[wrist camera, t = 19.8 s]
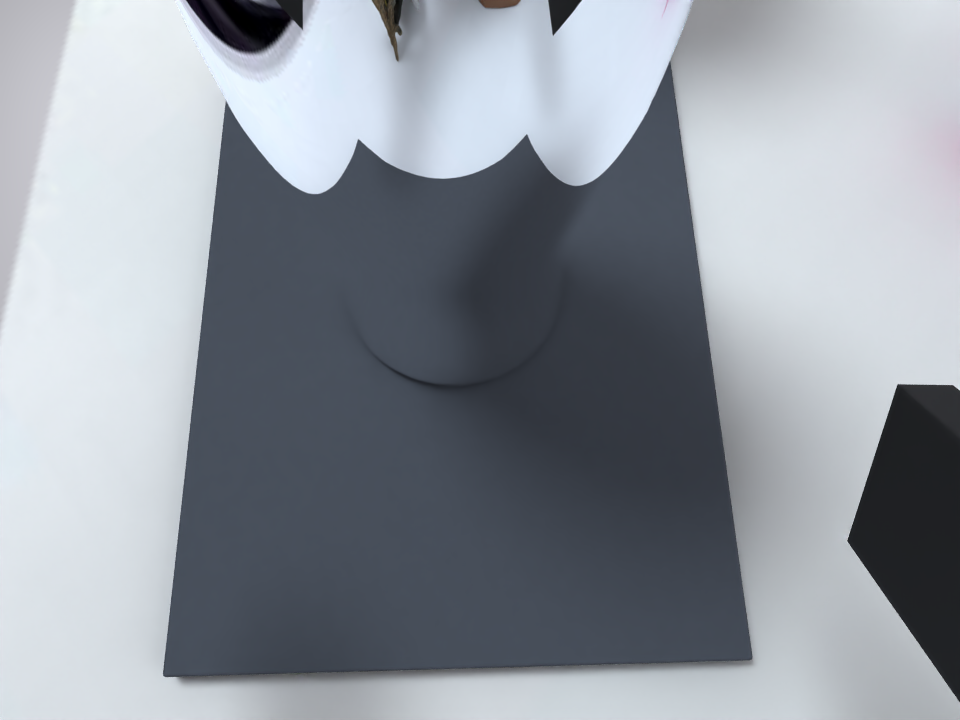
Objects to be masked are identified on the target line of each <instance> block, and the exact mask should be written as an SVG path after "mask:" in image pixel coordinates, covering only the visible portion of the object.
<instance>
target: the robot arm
mask: <svg viewBox="0 0 960 720" xmlns="http://www.w3.org/2000/svg"><path fill="white" fill-rule="evenodd" d="M847 541H848V543H849V544H850V546H851V547H852V549H853V550H854V551H855V553H856V554H857V556H858V557H859V559H860V560H861V561H862V563H863V564H864V566H865V567H866V569H867V570H868V571H869V573H870V574H871V576H872V577H873V579H874V580H875V582H876V583H877V584H878V586H879V587H880V589H881V590H882V592H883V593H884V594H885V596H886V597H887V599H888V600H889V602H890V603H891V604H892V606H893V607H894V609H895V610H896V612H897V613H898V614H899V616H900V617H901V619H902V620H903V622H904V623H905V624H906V626H907V627H908V629H909V630H910V632H911V633H912V634H913V636H914V637H915V639H916V640H917V642H918V643H919V644H920V646H921V647H922V649H923V650H924V652H925V653H926V654H927V656H928V657H929V659H930V660H931V662H932V663H933V665H934V666H935V667H936V669H937V670H938V672H939V673H940V675H941V676H942V677H943V679H944V680H945V682H946V683H947V685H948V686H949V687H950V689H951V690H952V692H953V693H954V695H955V696H956V697H957V699H958V700H959V702H960V390H958V389H957V388H956V387H954V386H953V385H902V384H898V385H897V388H896V391H895V394H894V397H893V400H892V404H891V407H890V410H889V413H888V416H887V419H886V422H885V425H884V428H883V432H882V435H881V438H880V441H879V444H878V447H877V450H876V453H875V456H874V459H873V463H872V466H871V469H870V472H869V475H868V478H867V481H866V484H865V487H864V491H863V494H862V497H861V500H860V503H859V506H858V509H857V512H856V515H855V519H854V522H853V525H852V528H851V531H850V534H849V537H848V540H847Z"/></svg>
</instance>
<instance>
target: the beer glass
mask: <svg viewBox="0 0 960 720" xmlns="http://www.w3.org/2000/svg"><path fill="white" fill-rule="evenodd" d="M175 2H176V4H177V6H178V8H179V10H180V13H181V15H182V17H183V19H184V21H185V24H186V26H187V28H188V30H189V33H190V35H191V37H192V39H193V41H194V43H195V44H196V46H197V48H198V50H199V52H200V54H201V55H202V57H203V59H204V61H205V63H206V65H207V66H208V68H209V70H210V72H211V74H212V76H213V78H214V79H215V81H216V83H217V85H218V87H219V89H220V90H221V92H222V94H223V96H224V98H225V100H226V101H227V103H228V105H229V107H230V109H231V111H232V112H233V114H234V116H235V117H236V119H237V121H238V122H239V124H240V125H241V127H242V128H243V130H244V131H245V132H246V134H247V135H248V137H249V138H250V139H251V141H252V142H253V144H254V145H255V146H256V148H257V149H258V151H259V152H260V154H261V155H262V156H263V158H264V159H265V161H266V162H267V163H268V165H269V166H270V168H271V169H272V170H273V172H274V173H275V175H276V176H277V177H278V179H279V180H280V181H281V183H282V184H283V185H284V186H285V187H286V189H287V190H288V191H289V192H290V193H291V195H292V196H293V197H294V198H295V199H296V201H297V202H298V203H299V204H300V205H301V207H302V208H303V209H304V210H305V211H306V213H307V214H308V215H309V216H310V217H311V219H312V220H313V221H314V222H315V223H316V224H317V226H318V227H319V228H320V229H321V230H322V231H323V233H324V234H325V235H326V236H327V237H328V238H329V239H330V241H331V242H332V243H333V244H334V245H335V246H336V248H337V249H338V250H339V251H340V253H341V254H342V255H343V256H344V291H345V297H346V302H347V307H348V310H349V314H350V317H351V319H352V322H353V324H354V326H355V328H356V330H357V332H358V334H359V336H360V337H361V339H362V340H363V342H364V343H365V344H366V346H367V347H368V348H369V349H370V350H371V352H372V353H373V354H374V355H375V356H376V357H378V358H379V359H380V360H381V361H382V362H384V363H385V364H386V365H388V366H389V367H391V368H392V369H394V370H396V371H397V372H399V373H401V374H403V375H405V376H407V377H410V378H412V379H415V380H418V381H421V382H425V383H429V384H434V385H441V386H466V385H474V384H479V383H483V382H487V381H490V380H493V379H495V378H498V377H500V376H503V375H505V374H507V373H509V372H510V371H512V370H514V369H515V368H517V367H518V366H520V365H521V364H523V363H524V362H525V361H527V360H528V359H529V358H530V357H531V356H532V355H533V354H534V353H535V352H536V351H537V350H538V349H539V348H540V347H541V346H542V344H543V343H544V342H545V340H546V339H547V337H548V336H549V334H550V333H551V331H552V329H553V327H554V325H555V322H556V320H557V317H558V314H559V311H560V307H561V303H562V297H563V285H564V274H563V261H562V253H561V247H562V245H563V244H564V242H565V241H566V239H567V237H568V236H569V234H570V233H571V232H572V230H573V229H574V227H575V226H576V225H577V223H578V222H579V220H580V219H581V217H582V216H583V215H584V213H585V212H586V210H587V209H588V207H589V206H590V204H591V203H592V201H593V200H594V199H595V197H596V196H597V194H598V193H599V191H600V190H601V188H602V187H603V185H604V184H605V182H606V181H607V179H608V178H609V176H610V175H611V173H612V172H613V171H614V169H615V167H616V166H617V164H618V162H619V161H620V159H621V157H622V155H623V154H624V152H625V150H626V148H627V147H628V145H629V143H630V141H631V140H632V138H633V136H634V134H635V133H636V131H637V129H638V127H639V126H640V124H641V122H642V120H643V119H644V117H645V115H646V113H647V111H648V109H649V108H650V106H651V104H652V102H653V99H654V97H655V95H656V93H657V90H658V88H659V85H660V83H661V81H662V78H663V76H664V74H665V71H666V69H667V66H668V64H669V62H670V59H671V57H672V55H673V52H674V50H675V47H676V45H677V43H678V40H679V38H680V36H681V33H682V31H683V28H684V26H685V23H686V21H687V18H688V15H689V12H690V9H691V6H692V3H693V0H175Z"/></svg>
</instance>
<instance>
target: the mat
mask: <svg viewBox="0 0 960 720" xmlns="http://www.w3.org/2000/svg"><path fill="white" fill-rule="evenodd" d="M561 253H562V261H563V274H564V285H563V297H562V303H561V307H560V311H559V314H558V317H557V320H556V322H555V325H554V327H553V329H552V331H551V333H550V334H549V336H548V337H547V339H546V340H545V342H544V343H543V344H542V346H541V347H540V348H539V349H538V350H537V351H536V352H535V353H534V354H533V355H532V356H531V357H530V358H529V359H528V360H527V361H525V362H524V363H523V364H521V365H520V366H518V367H517V368H515V369H514V370H512V371H510V372H509V373H507V374H505V375H503V376H500V377H498V378H495V379H493V380H490V381H487V382H483V383H479V384H474V385H466V386H441V385H434V384H429V383H425V382H421V381H418V380H415V379H412V378H410V377H407V376H405V375H403V374H401V373H399V372H397V371H396V370H394V369H392V368H391V367H389V366H388V365H386V364H385V363H384V362H382V361H381V360H380V359H379V358H378V357H376V356H375V355H374V354H373V353H372V352H371V350H370V349H369V348H368V347H367V346H366V344H365V343H364V342H363V340H362V339H361V337H360V336H359V334H358V332H357V330H356V328H355V326H354V324H353V322H352V319H351V317H350V314H349V310H348V307H347V302H346V297H345V291H344V256H343V255H342V254H341V253H340V251H339V250H338V249H337V248H336V246H335V245H334V244H333V243H332V242H331V241H330V239H329V238H328V237H327V236H326V235H325V234H324V233H323V231H322V230H321V229H320V228H319V227H318V226H317V224H316V223H315V222H314V221H313V220H312V219H311V217H310V216H309V215H308V214H307V213H306V211H305V210H304V209H303V208H302V207H301V205H300V204H299V203H298V202H297V201H296V199H295V198H294V197H293V196H292V195H291V193H290V192H289V191H288V190H287V189H286V187H285V186H284V185H283V184H282V183H281V181H280V180H279V179H278V177H277V176H276V175H275V173H274V172H273V170H272V169H271V168H270V166H269V165H268V163H267V162H266V161H265V159H264V158H263V156H262V155H261V154H260V152H259V151H258V149H257V148H256V146H255V145H254V144H253V142H252V141H251V139H250V138H249V137H248V135H247V134H246V132H245V131H244V130H243V128H242V127H241V125H240V124H239V122H238V121H237V119H236V117H235V116H234V114H233V112H232V111H231V109H230V107H229V105H228V103H227V101H226V105H225V114H224V123H223V132H222V142H221V151H220V160H219V169H218V178H217V187H216V196H215V205H214V214H213V224H212V233H211V242H210V251H209V260H208V269H207V278H206V287H205V297H204V306H203V315H202V324H201V333H200V342H199V351H198V360H197V369H196V379H195V388H194V397H193V406H192V415H191V424H190V433H189V442H188V451H187V461H186V470H185V479H184V488H183V497H182V506H181V515H180V524H179V533H178V543H177V552H176V561H175V570H174V579H173V588H172V597H171V606H170V615H169V625H168V634H167V643H166V652H165V661H164V670H163V676H165V677H182V676H217V675H252V674H286V673H321V672H356V671H391V670H426V669H461V668H495V667H530V666H565V665H600V664H635V663H670V662H705V661H739V660H751V659H752V651H751V644H750V637H749V630H748V622H747V615H746V608H745V601H744V593H743V586H742V579H741V572H740V564H739V557H738V550H737V543H736V535H735V528H734V521H733V514H732V506H731V499H730V492H729V485H728V477H727V470H726V463H725V456H724V448H723V441H722V434H721V427H720V419H719V412H718V405H717V398H716V390H715V383H714V376H713V369H712V361H711V354H710V347H709V340H708V332H707V325H706V318H705V311H704V303H703V296H702V289H701V282H700V274H699V267H698V260H697V253H696V245H695V238H694V231H693V224H692V216H691V209H690V202H689V195H688V187H687V180H686V173H685V166H684V158H683V151H682V144H681V137H680V129H679V122H678V115H677V108H676V100H675V93H674V86H673V79H672V72H671V64H670V62H669V64H668V66H667V69H666V71H665V74H664V76H663V78H662V81H661V83H660V85H659V88H658V90H657V93H656V95H655V97H654V99H653V102H652V104H651V106H650V108H649V109H648V111H647V113H646V115H645V117H644V119H643V120H642V122H641V124H640V126H639V127H638V129H637V131H636V133H635V134H634V136H633V138H632V140H631V141H630V143H629V145H628V147H627V148H626V150H625V152H624V154H623V155H622V157H621V159H620V161H619V162H618V164H617V166H616V167H615V169H614V171H613V172H612V173H611V175H610V176H609V178H608V179H607V181H606V182H605V184H604V185H603V187H602V188H601V190H600V191H599V193H598V194H597V196H596V197H595V199H594V200H593V201H592V203H591V204H590V206H589V207H588V209H587V210H586V212H585V213H584V215H583V216H582V217H581V219H580V220H579V222H578V223H577V225H576V226H575V227H574V229H573V230H572V232H571V233H570V234H569V236H568V237H567V239H566V241H565V242H564V244H563V245H562V247H561Z"/></svg>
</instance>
